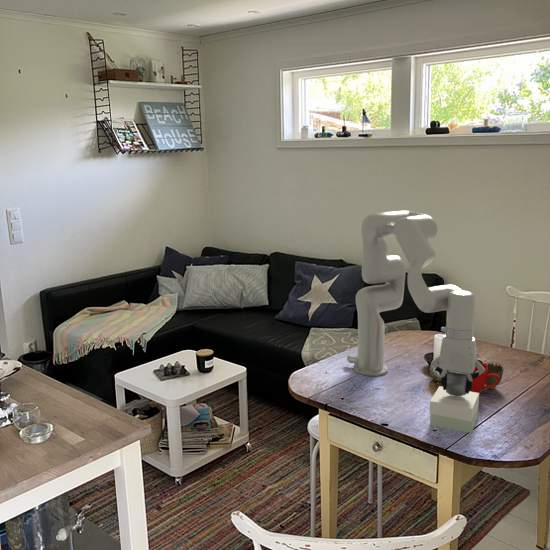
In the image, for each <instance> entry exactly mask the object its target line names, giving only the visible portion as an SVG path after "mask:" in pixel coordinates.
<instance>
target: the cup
mask: <svg viewBox="0 0 550 550" xmlns="http://www.w3.org/2000/svg"><path fill="white" fill-rule="evenodd" d="M484 364H485V365H487V367H488V373H487V375H488V374H497V375H498V376H499V378H500V382H499V384H498V385H500V384H501V381H502V379H503V375H504V369H505V368H503V366H502V364H497V363H495V364H494V363H493V362H488V363H487V362H485V363H484ZM496 383H497V378H496V377H495V376H490V377H488V378H487V380H486V382H485V385H484V386H492V385H494V384H496ZM496 389H497V386H495V387H493V388H489V389H487V391H494V390H496Z"/></svg>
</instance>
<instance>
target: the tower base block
mask: <svg viewBox="0 0 550 550" xmlns="http://www.w3.org/2000/svg"><path fill="white" fill-rule="evenodd" d="M429 417H430V419H429V426H433V427H438V428H442V429H449V430H455V431H458V432H459V431H461V432H465V433H469V434H470V433H471V434H473V430H474V429H475V426H476V422H477V420H478V417H479V407H478V408H477V410H476V412H475V415H474V417H473V419H472V422H471V421H465V420H460V419H455V418H450V417H445V416H440V415H435V414H430V416H429Z"/></svg>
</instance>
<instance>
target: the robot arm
mask: <svg viewBox="0 0 550 550" xmlns="http://www.w3.org/2000/svg"><path fill="white" fill-rule="evenodd" d="M360 226H361V227H360V228H361V231H360V232H361V238H362V239H361V240H362V255H361V256H362V257H361V258H362V259H361V277H362V281H363V282H364V283H366V284H370V285H371V286H365V287H362V288H361V289H359V290H358V291H357V293H356V295H355V305H356V311H357V329H358V331H357V355H356V356H354V355H349V354H348V355H347V357H346V360H347V361H348V363H350V364H353V366H352V367H353V368H352V369H353V371H354V372H355V373H356V374H359V375H362V376H368V377H377V376H383V375H385V374H386V373H388V371H389V368H388V367H389V366H388V365H387V364H386V363H385V332H386V331H385V330H386V329H385V321H384V319H383V318H382V317H381V315H380V313H382V312H387V311H392V310H397V309H398V308H400V307H401V306H402V304H403V301H404V293H405V283H406V282H405V281H406V278H407V290H408V292H409V294H410V296H411V298H412V300H413V301H414V303H415V305H416V307H417V308H418V309H419V310H420V311H421V312H424V313H428V314H430V313H436V312H441V311H447V312H446V326H442V327H440V331H441V332H443V333H445V334H444V335H443V336H442V340H441V344H440V350H439V355H438V356H437V357H436V358H434V359H433V360H432V361H431V363H430V365H432V367H433V368H434V369H435V371H437V373H438V374H439V375H440V377H441V387H443V390H446V379H447V370H448V371H455V372H462V373H466V374H467V377H468V380H467V382H466V393H467V394H469V391H470V390H472V381H473V380H474V379H475V378H477V377H478V376H479V375H481V374H482V373H483V372H485V368H484V367H483V366H482V365H481V364H480V363H479V362H480V361H479V360H478V359H477V345H476V338H475V337H474V325H475V324H474V321H475V305H476V303H475V302H476V296H475V294H474V293H473V292H471V291H468V290H464V289H462V288H461V287H459V286H457V285H455V284H444V285H443V284H442V285H434V286H427V284H426V282H425V280H424V278H423V275H422V270H423V269H425V268H426V267H427V266H428V265H430V264H431V263H432V262H433V261H434V260H435V258H436V252H435V249H434V248H433V246H432V245H431V242H430V241H432V240H433V239H435V238H436V237H437V235H438V224H437V222H436V221H435V219H434V218H433V217H432V216H430V215H428V214H425V213H420V212H416V211H412V210H395V211H381V212H374V213H370V214H368V215H366V216H365V217H364V218H363V220H362V223H361V225H360ZM389 237H391V238H392V237H395V239H396V241H397V242H398V244H399V246H400V248H401V251H402V252H403V254H404V256H405V258H406V260H407V262H408V263H409V267H408V268H409V269H408V271H407V277H406V266H405V262H404V261H403V259H402V258H401V256H399V255H396V254H389V255H388V242H387V240H386V238H389ZM383 283H384V284H383ZM372 284H373V285H372ZM375 284H376V285H375ZM377 284H378V285H377ZM475 367H477V368H478V371H476V372H474V370H475ZM473 372H474V373H473Z"/></svg>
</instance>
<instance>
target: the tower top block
mask: <svg viewBox="0 0 550 550" xmlns="http://www.w3.org/2000/svg"><path fill="white" fill-rule="evenodd" d="M436 389H437V390H436V391H435V392H434V394H433V396H432V398H431V399H430V401H429V414H430V415H431V414H435V415H440V416H445V417H450V418H455V419H460V420H465V421H471V422H472V419H473V417H474V415H475V412H476V410H477V408H478V409H479V403H480V393H476V392H470V391H469V394H466V395H463V396H454V395H450V394H448V393H447V392H446V390H443V386H439V385H438V388H436Z"/></svg>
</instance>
